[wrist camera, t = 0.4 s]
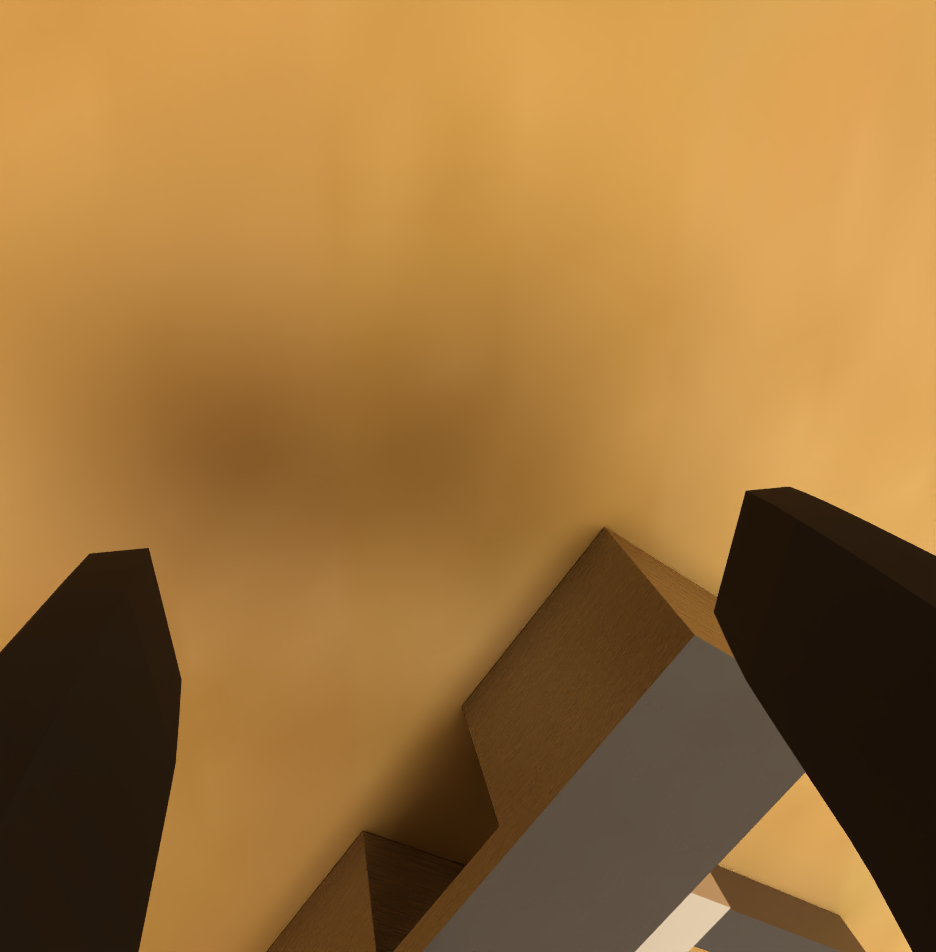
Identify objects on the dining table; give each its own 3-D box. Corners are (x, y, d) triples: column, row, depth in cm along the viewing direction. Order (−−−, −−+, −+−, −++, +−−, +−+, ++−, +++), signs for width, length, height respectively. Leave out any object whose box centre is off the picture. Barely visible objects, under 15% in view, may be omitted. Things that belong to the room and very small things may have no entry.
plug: (792, 960, 33) (843, 1042, 30) (537, 869, 27) (569, 960, 24) (854, 899, 32) (913, 977, 29) (605, 791, 26) (647, 875, 23)
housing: (391, 1008, 28) (413, 1185, 24) (248, 975, 26) (239, 1164, 21) (737, 610, 24) (849, 725, 19) (604, 527, 22) (694, 635, 17)
